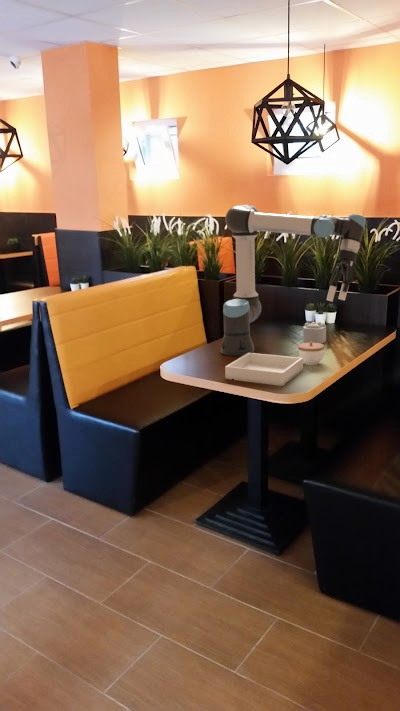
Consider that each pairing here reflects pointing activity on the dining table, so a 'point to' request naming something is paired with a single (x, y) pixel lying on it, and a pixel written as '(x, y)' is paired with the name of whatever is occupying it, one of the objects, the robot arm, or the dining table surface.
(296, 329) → the dining table surface
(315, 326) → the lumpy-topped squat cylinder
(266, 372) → the cream square tray
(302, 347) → the lidded jar
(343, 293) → the robot arm
